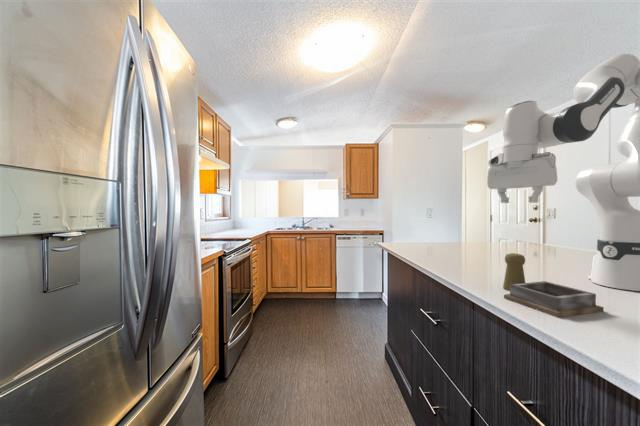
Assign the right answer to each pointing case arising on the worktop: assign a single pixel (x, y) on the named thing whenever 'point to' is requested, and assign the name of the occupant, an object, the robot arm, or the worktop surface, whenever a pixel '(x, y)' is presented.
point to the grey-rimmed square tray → (553, 298)
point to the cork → (514, 270)
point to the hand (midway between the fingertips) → (518, 202)
